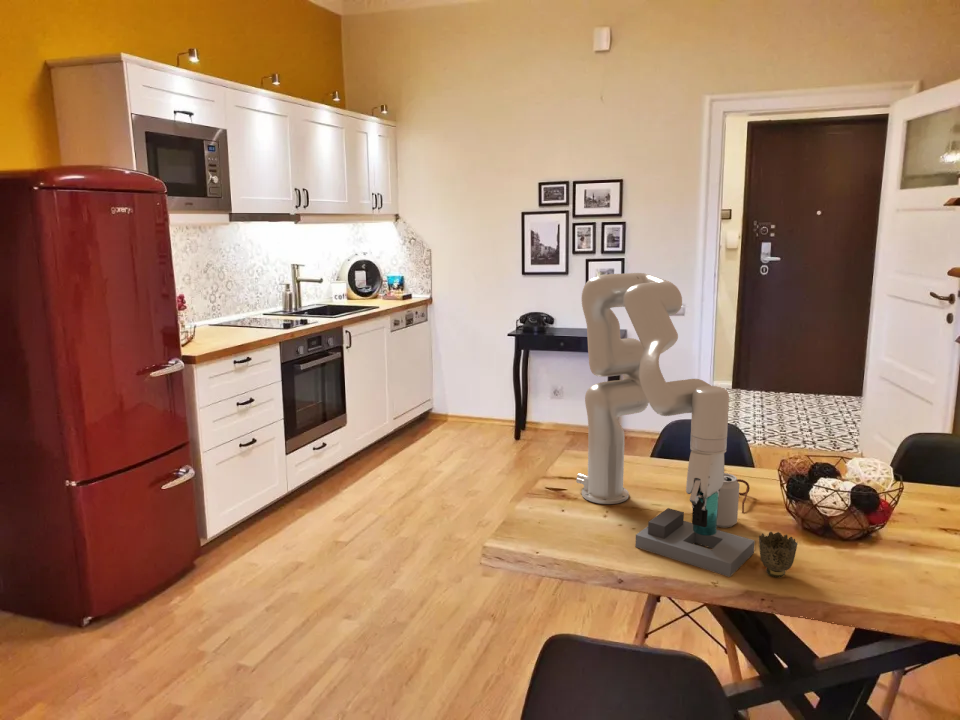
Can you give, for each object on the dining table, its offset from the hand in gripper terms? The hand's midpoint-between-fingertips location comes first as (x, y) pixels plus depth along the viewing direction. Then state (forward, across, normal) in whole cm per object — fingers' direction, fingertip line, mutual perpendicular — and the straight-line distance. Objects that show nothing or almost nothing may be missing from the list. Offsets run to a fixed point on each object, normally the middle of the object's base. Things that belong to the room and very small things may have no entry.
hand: (704, 520), depth 157 cm
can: (+8, -18, -3) cm, 20 cm away
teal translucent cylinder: (+2, 0, 0) cm, 2 cm away
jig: (+8, 0, -2) cm, 8 cm away
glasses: (+8, -31, -9) cm, 34 cm away
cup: (+8, 0, +16) cm, 18 cm away
